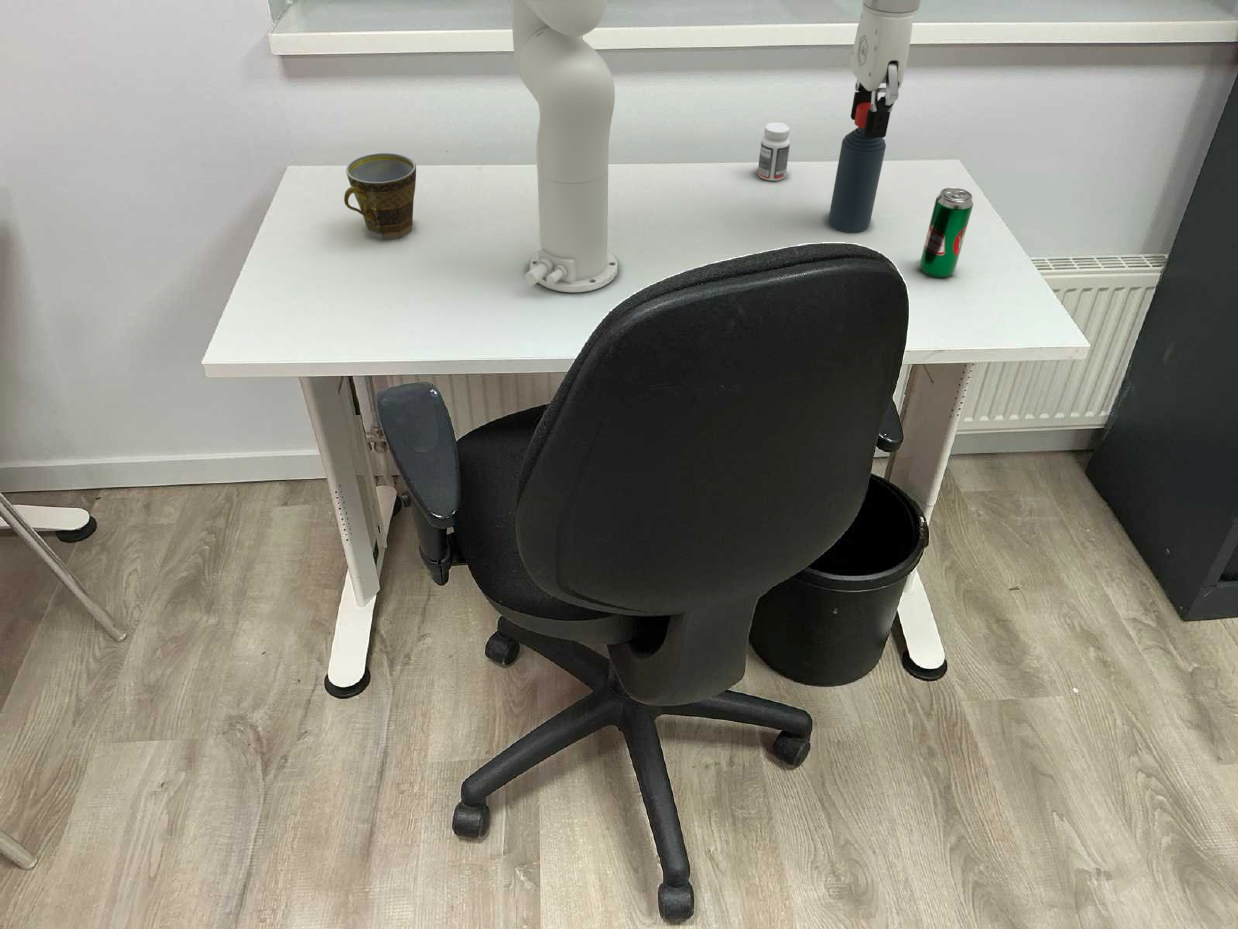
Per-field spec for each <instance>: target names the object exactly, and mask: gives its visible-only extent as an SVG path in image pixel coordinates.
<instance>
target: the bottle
mask: <svg viewBox="0 0 1238 929" xmlns="http://www.w3.org/2000/svg"><path fill="white" fill-rule="evenodd" d="M863 133H864V129H863V128H860V127H858V126H857V127H856V128H855V129H853V130H852V131H851V132H848V133H847V134H846V135H845V136H844V138H842V141H841V146H840V151H839V158H838V164H837V169H836V174H835V180H834V184H833V190H832V196H831V203H830V209H829V214H828V219H827V222H828V224H829V226H830V227H832V228H833V229H835V230H837V231H840V232H843V233H849V234H850V233H851V234H854V233H856V234H857V233H862V232H864V231H867V230H868V229H869V228H870V226H871V221H872V215H873V211H874V205H875V201H876V196H877V191H878V187H879V181H880V177H881V171H882V167H883V164H884V157H885V153H886V149H887V144H886V140H885V139H884V137H883V138H865V137H864V136H863Z"/></svg>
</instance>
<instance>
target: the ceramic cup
mask: <svg viewBox="0 0 1238 929" xmlns="http://www.w3.org/2000/svg"><path fill="white" fill-rule="evenodd" d="M345 173H346V176H347V180H348V182H349V185H350V187H348V188H347V189H346V190H345V192H344V196H343V201H344V205H345V206H346V208H348V209H349V210H352V211H354V212H357V213H359V214H360V215H362V217H363V220H364V224H365V227H366V229H367V234H368V235H369V237H371V238H375V239H377V240H380V241H390V240H398V239H402V238H403V237H405V236H407V235H408V234H410V233H411V232H412V230H413V220H414V219H413V217H414V203H415V202H414V201H415V192H416V183H417V164H416V162H415V161H414V159H412V158H410V157H409V156H406V155H403V154H399V153H393V152H380V153H379V152H378V153H371V154H366V155H363V156H360V157H357V158H356V159H354V160H352V161H351V162H349V163H348V165H347V166H346V169H345ZM352 194H353V195H354V198H355V200H356V202H357V205H358V207H359V208H357V207H354V206H352V205H350V203H349V199H350V197H351V195H352Z"/></svg>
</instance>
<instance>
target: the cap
mask: <svg viewBox="0 0 1238 929" xmlns="http://www.w3.org/2000/svg"><path fill="white" fill-rule="evenodd" d="M868 109H871V103H861V104H859V105H858V106H857V109H856V115H855V120H853V121H854V125H855V126H857V128H858V127H860V128H863V129H864V128H865V122H866V117H867V112H868Z"/></svg>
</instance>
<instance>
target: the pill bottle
mask: <svg viewBox="0 0 1238 929" xmlns="http://www.w3.org/2000/svg"><path fill="white" fill-rule="evenodd" d="M790 130H791V129H790V126H789V125H787V124H785V123H783V122H769V123H767V124H765V126H764V131H763V136H762V138H761V141H760V149H759V158H758V168H757V175H758V177H759V178H761V179H763V180H765V181H771V182H776V181H781V180H783V179H784V178H785V177H786V175H787V168H788V161H789V155H790V154H789V153H790V146H791V140H790V138H789V136H790Z"/></svg>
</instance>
